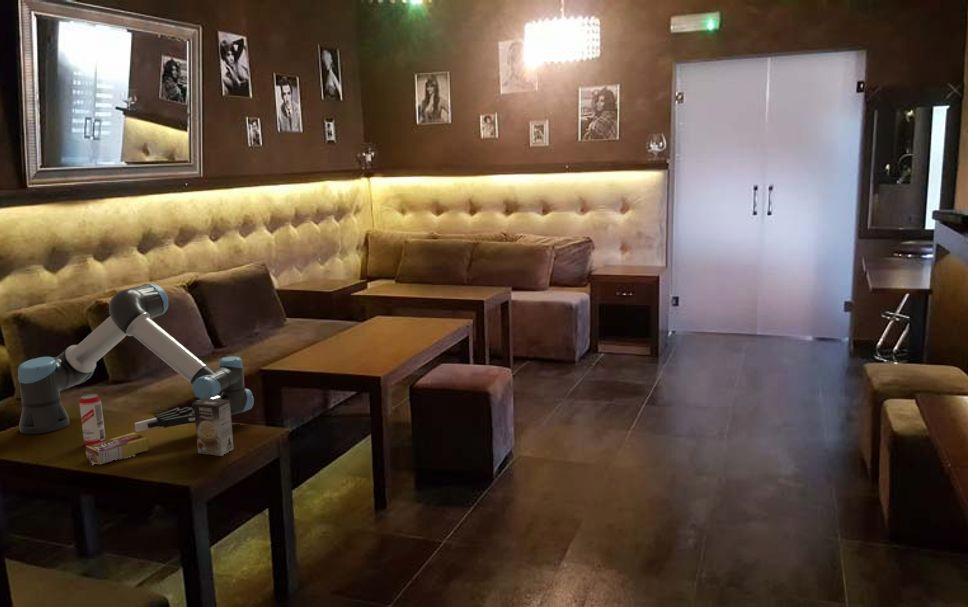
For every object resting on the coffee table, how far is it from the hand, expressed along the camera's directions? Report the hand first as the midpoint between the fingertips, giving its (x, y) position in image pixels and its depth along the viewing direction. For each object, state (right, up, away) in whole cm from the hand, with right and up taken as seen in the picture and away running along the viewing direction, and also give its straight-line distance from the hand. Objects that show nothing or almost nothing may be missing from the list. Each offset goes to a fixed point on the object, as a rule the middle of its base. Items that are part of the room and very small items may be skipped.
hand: (135, 427), depth 247 cm
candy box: (+1, -5, +2) cm, 5 cm away
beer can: (-16, -7, +8) cm, 19 cm away
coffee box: (+26, -7, -2) cm, 27 cm away
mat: (-7, -8, -3) cm, 11 cm away
